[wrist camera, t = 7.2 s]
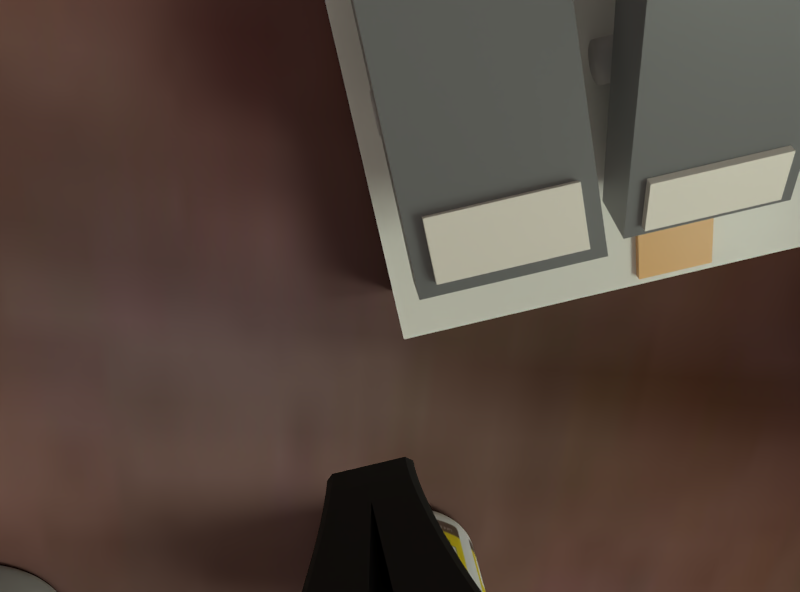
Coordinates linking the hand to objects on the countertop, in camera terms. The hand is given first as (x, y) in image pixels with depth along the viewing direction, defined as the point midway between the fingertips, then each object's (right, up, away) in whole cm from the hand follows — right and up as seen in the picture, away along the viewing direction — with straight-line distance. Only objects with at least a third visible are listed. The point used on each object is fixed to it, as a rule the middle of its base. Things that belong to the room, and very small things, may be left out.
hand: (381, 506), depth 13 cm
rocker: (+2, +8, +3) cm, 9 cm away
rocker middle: (+7, +9, +4) cm, 12 cm away
